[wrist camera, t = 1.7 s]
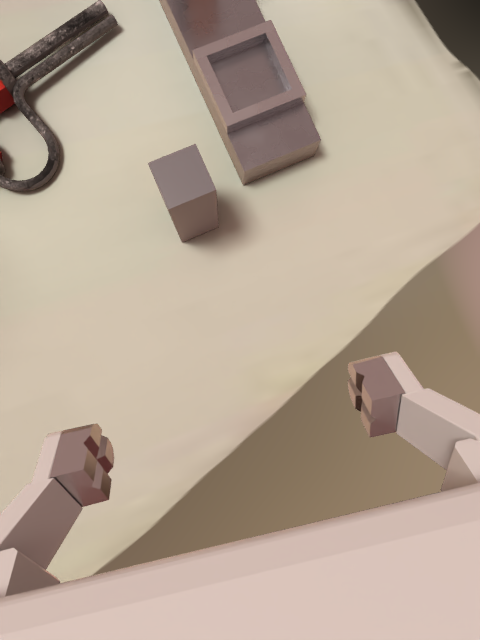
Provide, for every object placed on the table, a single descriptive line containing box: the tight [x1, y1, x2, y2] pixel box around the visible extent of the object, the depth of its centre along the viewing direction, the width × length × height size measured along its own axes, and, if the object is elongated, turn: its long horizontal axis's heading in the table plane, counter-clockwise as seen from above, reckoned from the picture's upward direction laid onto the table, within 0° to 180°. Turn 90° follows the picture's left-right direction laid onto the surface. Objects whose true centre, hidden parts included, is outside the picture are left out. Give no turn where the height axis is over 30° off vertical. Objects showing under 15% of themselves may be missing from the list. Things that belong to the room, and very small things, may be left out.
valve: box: [0, 0, 118, 191], centre depth 37 cm, size 6×26×15 cm
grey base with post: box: [159, 0, 321, 185], centre depth 34 cm, size 8×24×12 cm, turn 24°
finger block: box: [148, 144, 219, 242], centre depth 34 cm, size 4×4×9 cm
